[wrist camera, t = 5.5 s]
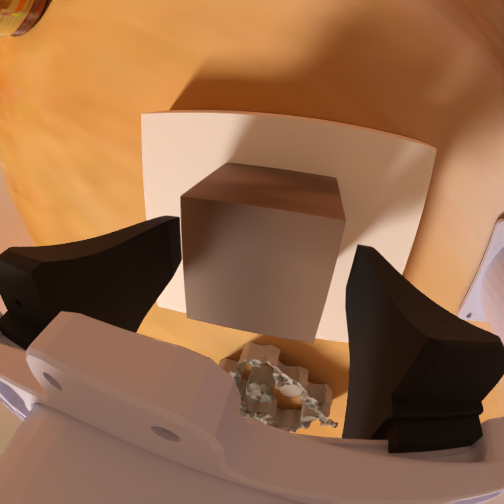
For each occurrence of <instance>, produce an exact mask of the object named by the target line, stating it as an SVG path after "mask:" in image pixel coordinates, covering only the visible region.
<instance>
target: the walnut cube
mask: <svg viewBox="0 0 504 504" xmlns="http://www.w3.org/2000/svg"><path fill="white" fill-rule="evenodd" d="M180 209H181V237H182V257H183V274H184V288H185V301H186V313H187V318H190V319H194V320H198V321H202V322H206V323H211V324H215V325H220V326H224V327H229V328H233V329H238V330H243V331H248V332H253V333H258V334H263V335H268V336H273V337H279V338H284V339H290V340H296V341H302V342H308V343H314V340H315V336H316V333H317V330H318V327H319V323H320V320H321V316H322V313H323V310H324V306H325V303H326V299H327V295H328V292H329V288H330V284H331V281H332V277H333V273H334V269H335V265H336V261H337V257H338V253H339V249H340V245H341V241H342V236H343V232H344V228H345V223H346V219H345V214H344V209H343V204H342V200H341V195H340V191H339V187H338V182H337V178H335V177H329V176H323V175H317V174H311V173H305V172H299V171H292V170H285V169H278V168H270V167H263V166H254V165H246V164H237V163H225V164H224V165H222V166H221V167H219V168H218V169H217V170H215V171H214V172H212V173H211V174H210V175H208V176H207V177H205V178H204V179H203V180H201V181H200V182H199V183H197V184H196V185H195V186H193V187H192V188H190V189H189V190H188V191H186V192H185V193H184V194H183V195H181V196H180Z"/></svg>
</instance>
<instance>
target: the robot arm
mask: <svg viewBox="0 0 504 504" xmlns="http://www.w3.org/2000/svg"><path fill="white" fill-rule="evenodd" d="M181 261H182V251H181V233H180V217H176V216H168V215H166V216H160V217H157V218H153V219H150V220H147V221H144V222H141V223H138V224H135V225H133V226H130V227H127V228H124V229H121V230H118V231H115V232H112V233H109V234H106V235H102V236H99V237H95V238H91V239H87V240H82V241H77V242H71V243H66V244H59V245H51V246H38V247H11V248H8V249H7V250H5V251H4V252H3V253H1V254H0V295H1V297H2V299H3V301H4V304H5V306H6V308H7V310H8V311H7V312H6V313H5V314H4V315H3V314H2V313H1V312H0V401H1V402H2V403H3V404H4V405H5V406H6V407H7V408H9V409H10V410H11V411H12V412H13V413H14V414H15V415H16V416H18V417H19V418H20V419H21V420H22V421H23V422H22V424H21V425H20V427H19V428H18V430H17V431H16V433H15V434H14V436H13V437H12V439H11V441H10V442H9V444H8V445H7V447H6V449H5V450H4V451H3V453H2V455H1V456H0V504H484V503H486V502H488V501H490V500H492V499H494V498H496V497H498V496H499V495H501V494H503V493H504V417H500V418H494V419H489V420H486V421H484V422H483V423H481V424H480V419H479V415H480V414H482V413H483V406H482V402H481V401H482V400H483V399H484V398H485V397H486V396H487V395H488V393H489V392H490V391H491V390H492V389H493V388H494V387H495V385H496V384H497V383H498V382H499V380H500V379H501V378H502V376H503V375H504V219H499V220H498V221H497V223H496V225H495V228H494V231H493V234H492V236H491V239H490V242H489V244H488V247H487V250H486V252H485V255H484V257H483V260H482V262H481V264H480V267H479V269H478V271H477V274H476V276H475V278H474V280H473V283H472V285H471V287H470V289H469V291H468V293H467V295H466V297H465V299H464V301H463V303H462V305H461V307H460V309H459V311H458V317H457V316H455V315H453V314H452V313H450V312H449V311H447V310H445V309H444V308H442V307H441V306H439V305H438V304H436V303H435V302H433V301H432V300H431V299H429V298H428V297H427V296H425V295H424V294H423V293H422V292H420V291H419V290H418V289H417V288H415V287H414V286H413V285H412V284H411V283H410V282H409V281H408V280H407V279H405V278H404V277H403V276H402V275H401V274H400V273H399V272H398V271H397V270H396V269H395V268H394V267H393V266H392V265H391V264H390V263H389V262H388V261H387V260H386V259H385V258H384V257H383V256H382V255H381V254H380V253H379V252H378V251H377V250H376V249H375V248H373V247H371V246H365V245H360V244H357V248H356V252H355V256H354V260H353V263H352V267H351V271H350V274H349V278H348V281H347V285H346V296H345V311H346V320H347V330H348V340H349V351H350V371H349V387H348V398H347V407H346V415H345V422H344V429H343V434H342V438H331V437H320V436H311V435H303V434H295V433H290V432H287V431H283V430H280V429H277V428H274V427H271V426H268V425H265V424H263V423H260V422H257V421H254V420H251V419H249V418H246V417H243V416H241V414H240V404H241V395H240V393H239V390H238V388H237V385H236V383H235V380H234V378H233V377H232V376H231V375H230V374H228V373H227V372H226V371H225V370H224V369H222V368H221V367H220V366H219V365H218V364H216V363H215V362H214V361H213V360H212V359H211V358H208V357H206V356H203V355H201V354H199V353H196V352H194V351H192V350H189V349H187V348H185V347H182V346H178V345H175V344H171V343H168V342H164V341H161V340H157V339H154V338H151V337H147V336H144V335H141V334H138V333H136V332H137V330H138V328H139V326H140V324H141V322H142V320H143V319H144V317H145V316H146V314H147V313H148V311H149V310H150V308H151V307H152V306H153V304H154V303H155V302H156V300H157V299H158V297H159V296H160V295H161V293H162V292H163V291H164V289H165V288H166V286H167V285H168V284H169V282H170V281H171V279H172V278H173V276H174V274H175V273H176V271H177V269H178V267H179V265H180V263H181ZM468 313H469V314H468ZM467 314H468V315H467ZM464 320H471V321H481V322H488V324H489V326H490V328H491V330H492V332H493V334H492V333H490V332H488V331H485V330H483V329H481V328H478V327H476V326H474V325H472V324H470V323H468V322H466V321H464Z"/></svg>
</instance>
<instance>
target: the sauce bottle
mask: <svg viewBox="0 0 504 504" xmlns="http://www.w3.org/2000/svg"><path fill="white" fill-rule="evenodd" d="M46 2H47V0H0V38H6V37H9V36H14V37H16V36H21V35H23V34H25V33H26V32H27V31H29V30H30V29H31V27H32V26H33V25H34V24H35V23H36V22H37V20H38V19H39V17H40V16H41V13H42V12H43V9H44V7H45V5H46Z"/></svg>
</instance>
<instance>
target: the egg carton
mask: <svg viewBox="0 0 504 504" xmlns="http://www.w3.org/2000/svg"><path fill="white" fill-rule="evenodd" d="M279 355H280V350H279V349H278V348H277V347H276V346H274V345H272V344H269V345H258V344H255V343H253V342H249V343H248V344H246V345H245V346H244V347H243V350H242V354H241V356H240V359H239V361H235V360H231V359H228V358H224V359H223V360H221V361H220V362H219V366H220V367H221V368H222V369H224V370H225V371H226V372H227V373H228V374H230V375H231V376H232V377H233V378H234V380H235V383H236V385H237V388H238V390H239V393H240V395H241V404H240V414H241V416H243V417H246V418H249V419H251V420H254V421H257V422H260V423H263V424H265V425H268V426H271V427H274V428H277V429H280V430H283V431H287V432H290V431H292V432H296V430H297V429H299V428H302V427H304V428H305V429H307V428H308V427H309V426H310V424H311V422H312V421H315V420H317V419H319V421H321V426H327V425H329V424H330V426H333V428H336V427H337V425H338V423H335V422H333V421H332V420H330V419H328V417H329V415H330V406H331V404H332V400H333V394H332V387H331V386H330V385H328V384H326V383H324V384H313V383H310V382H308V373H309V371H308V370H307V369H305V368H303V367H301V366H287V365H284V364H282V363H281V362H280V361H279V360H278V359H279ZM246 362H248V363H249V364H251V365H252V366H253V367H252V369H251V372H250V375H249V379H248V381H247V380H246V379H243V378H241V376H242V373H243V370H244V367H245V364H246ZM264 363H268V364H269V365H270V366H272V367H273V368H274V369H273V368H272V367H270V366H268V365H263V364H264ZM275 382H276V385H277V387H279V392H280V393H281V394H282V395H283V396H287V397H297V396H299V395H301V398H300V400H301V402H302V403H303V404H302V410H299V411H296V410H293V409H283V410H281V409H279V408H277V404H278V401H277V399H276V398H274V397H273V392H274V387H275ZM298 385H299V386H298Z"/></svg>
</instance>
